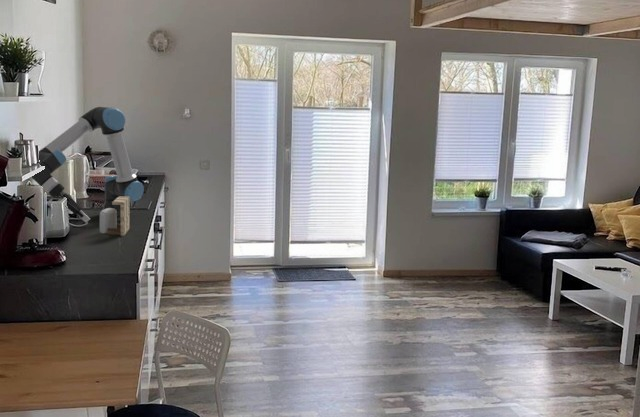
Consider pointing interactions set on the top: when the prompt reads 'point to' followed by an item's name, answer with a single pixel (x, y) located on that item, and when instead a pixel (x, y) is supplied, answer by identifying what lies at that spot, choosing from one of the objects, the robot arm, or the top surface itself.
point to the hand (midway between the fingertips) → (88, 220)
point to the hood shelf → (122, 216)
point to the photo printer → (108, 219)
